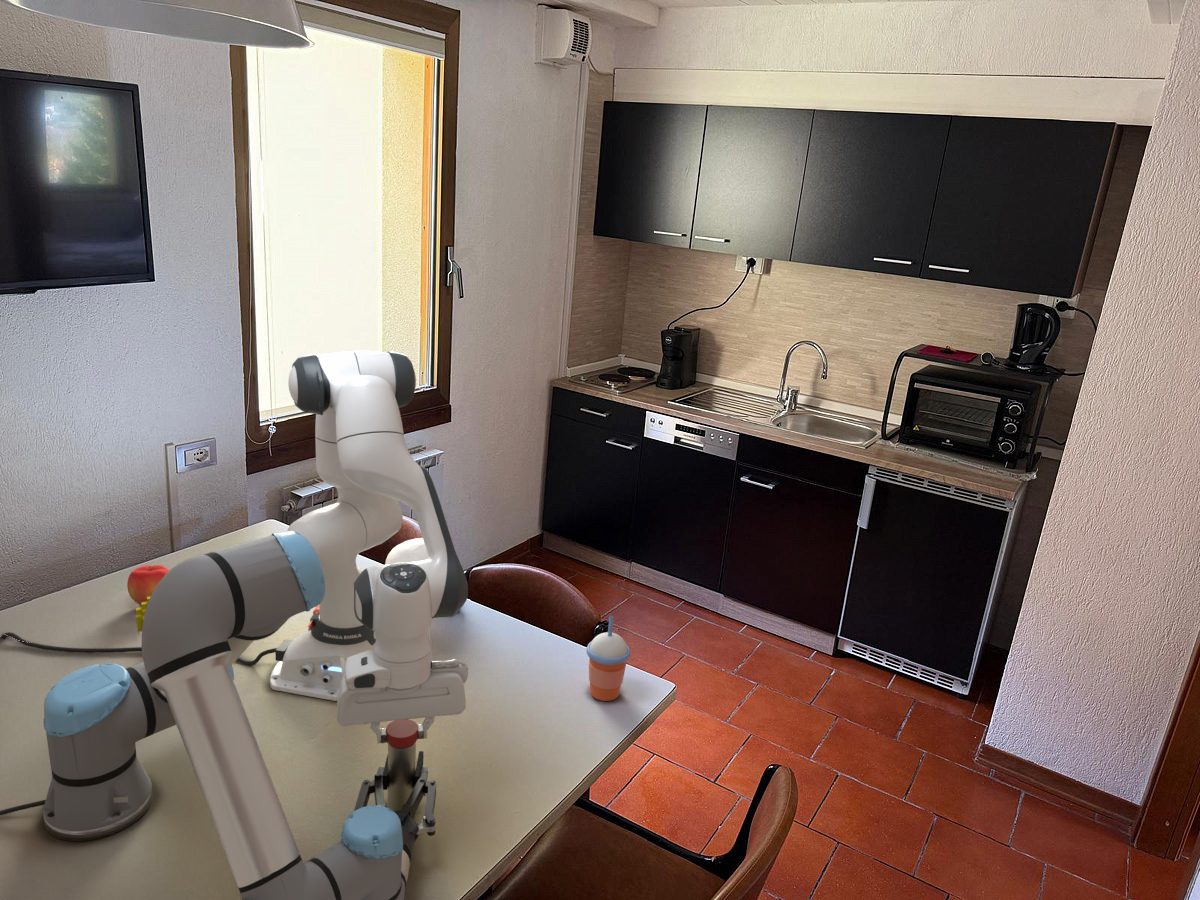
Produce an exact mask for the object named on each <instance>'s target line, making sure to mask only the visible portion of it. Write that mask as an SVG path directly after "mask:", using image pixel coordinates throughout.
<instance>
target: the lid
mask: <svg viewBox="0 0 1200 900" xmlns="http://www.w3.org/2000/svg"><path fill="white" fill-rule="evenodd" d="M418 725H419V724H418V722H416V721H414V719H406V720H396V721H390V722H389V723H388V724H387V725H386V727H385V728H386V733H387V738H386V739H387V743H386V744H387V745H388V744H389V745H391V746H393V747H398V748H404V747H408V746H411V745H412V744H414V743H415V742H416V743H417V741H418V740H419V739H418Z"/></svg>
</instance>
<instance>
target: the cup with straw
mask: <svg viewBox="0 0 1200 900" xmlns="http://www.w3.org/2000/svg"><path fill="white" fill-rule="evenodd" d="M614 619H615V618H614V616H613V615H609V617H608V627H607V631H606V632H602V633H599V634H597V635H596V636H595V637H594V638H593V639H592V640H591V641H590V642H589V643H588V644H587V646H586V654H587V656H588V680H589V692H590V695H591V696H592V697H593V698H594V699H596V700H597V701H602V702H610V701H614V700H615V699H617V698H618V697H619V695H620V691H621V687H622V684H623V681H624V677H625V671H626V666H627V661H628V660H629V659H630V657H631V649H630V647H629V646H628V644H627V643H626V641H625V640H624V638H623V637H622V636H620V635H619V634H618V633H615V632H613V628H614Z"/></svg>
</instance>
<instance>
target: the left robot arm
mask: <svg viewBox="0 0 1200 900" xmlns="http://www.w3.org/2000/svg"><path fill="white" fill-rule="evenodd" d="M324 594H325V580H324V574H323V569H322V566H321V563H320V560H319V558H318V556H317V554H316V552H315V550H314V548H313V547H312V545H311V544H310V542H309V541H308V540H307V539H306V538H305V537H303V536H302V535H301V534H300V533H298V532H295V531H287V530H286V531H283V532H278V533H277V532H273V533H271V535H267V536H264V537H260V538H256V539H253V540H250V541H246V542H243V543H238V544H235V545H232V546H227V547H225V548H221V549H218V550H214V551H209V552H207V553H203V554H198V555H194V556H191V557H189V558H186V559H184V560H182V561H181V562H179V563H177V564H176V565H174V566H173V567H172V568H171V569H169V571H168V572H167V574H166V575H165V576H164V577H163V578H162V579H161V581H160V582H159V583H158V585H157V586H156V588H155V589H154V591H153V593H152V595H151V597H150V600H149V602H148V605H147V608H146V612H145V615H144V621H143V626H142V631H141V645H140V647H142V651H141V654H142V662H140V663H136V664H134V665H131V666H129V667H126V668H125V667H124V666H122V665H120V664H117V663H112V662H111V663H109V662H108V663H107V662H106V663H105V662H104V663H103V664H102V665H100V664H98V663H95V664H92V665H91V664H90V665H88V666H84V667H81V668H79V669H76V670H74V671H72V672H70V673H69V674H66V675H65V676H63V677H62V678H61V679H59V680H58V681H57V682H56V683H55V684H54V685H53V686H52V687H51V688H50V689H49V690H50V691H49V692H47V694H46V696H45V697H44V701H43V729H44V731H45V734H46V741H47V750H48V755H49V763H50V770H51V771H50V772H51V779H50V782H49V787H48V791H47V795H46V797H45V799H42V800H38V801H33V802H28V803H25V804H24V803H23V804H20V805H17V806H13V807H8V808H5V809H1V810H0V816H4V815H8V814H10V813H15V812H19V811H23V810H27V809H32V808H36V807H40V806H43V808H42V816H43V825H44V828H45V830H46V831H47V832H48V833H49V834H50V835H51V836H53V837H54V838H57V839H59V840H63V841H70V842H84V841H91V840H96V839H100V838H103V837H104V838H105V837H107V836H110V835H114V834H115V833H118V832H120V831H122V830H124V829H126V828H127V827H130V826H131V825H133V824H134V823H135V822H137V821H138V820H139V819H140V818H141V817H142V816H143V815H144V814H145V813H146V812H147V810H148V809H149V808H150V806H151V804H152V802H153V798H154V792H153V791H154V789H153V783H152V779H151V777H150V776H149V774H148V773H147V772H146V769H145V767H144V766H143V764H142V762H141V760H140V759H139V757H138V755H137V747H136V746H137V745H136V743H137V742H138V741H141V740H144V739H146V738H148V737H151V736H154V735H155V734H158V733H160V732H163V731H165V730H167V729H170V728H172V727H175V726H176V728H177V730H178V732H179V735H180V738H181V741H182V743H183V746H184V748H185V751H186V753H187V756H188V759H189V761H190V764H191V767H192V769H193V772H194V775H195V777H196V781H197V782H198V785H199V787H200V790H201V793H202V795H203V798H204V801H205V804H206V807H207V810H208V812H209V815H210V817H211V819H212V822H213V825H214V827H215V830H216V833H217V835H218V839H219V840H220V843H221V846H222V848H223V851H224V854H225V856H226V859H227V861H228V864H229V867H230V870H231V872H232V875H233V877H234V880H235V883H236V886H237V888H238V891H239V894H240V898H241V900H405V894H406V891H407V883H408V878H409V873H410V867H411V862H412V856H413V850H414V844H415V843H416V840H417V839H418V838H419V835H422V834H426V835H427V836H429V837H433V836H435V835H436V817H435V815H434V814H435V807H436V799H437V798H436V797H437V781H436V780H434V779H433V780H429V781H428V776H429V769H428V767H427V766H424V752H425V751H423V750H419V751H418V755H417V759H416V764H415V776H414V789H413V790H412V792H411V794H410V796H409V798H408V800H407V802H406V804H404V805H403V807H402V809H401V810H399V811H392V810H391V809H389V808H388V806H387V807H386V804H385V802H386V801H385V795H384V794H385V793H384V791H388V754H387V755H386V760H385V763H384V766H379V767H378V768H377V771H376V773H375V774H374V775H373V776H374V778H373V780H371V781H370V779H365V780H363V781H362V783H361V786H360V789H359V793H358V796H357V800H356V802H355V806H354V810H353V812H351V813H350V814H349V815H348V816H347V818H346V820H345V821H344V823H343V825H342V831H341V834H340V837H341V839H340V841H337V842H336V843H335V844H333V845H332V846H329V847H328V848H326V849H325V850H323V851H321V852H319V854H317V855H315V856H314V857H312V858H310V859H309V860H307V861H305V862H304V861H303V858H302V856H301V853H300V850H299V848H298V847H299V846H298V845H297V842H296V839H295V837H294V835H293V831H292V830H291V826H290V823H289V821H288V819H287V816H286V814H285V811H284V808H283V806H282V803H281V801H280V798H279V795H278V793H277V791H276V788H275V785H274V783H273V781H272V778H271V775H270V773H269V770H268V767H267V765H266V761H265V760H264V757H263V753H262V751H261V749H260V746H259V744H258V741H257V738H256V736H255V733H254V731H253V728H252V725H251V722H250V720H249V718H248V715H247V712H246V709H245V707H244V704H243V702H242V699H241V696H240V695H239V694H240V693H239V691H238V689H237V686H236V683H235V682H234V681H235V675H234V667H233V665H234V663H235V662H236V660H237V659H238V658H241V656H242V655H243V654H244V653H245V651H247V649H248V648H249V647H250V646H251V645H252V643H254V642H256V641H260V640H264V639H266V638H268V637H270V636H273V635H274V634H275V633H276V632H278V631H279V630H280V629H281V628H282V627H283V626H284V625H285V623H286V622H288V620H289V619H291V618H292V617H294V616H295V615H299V614H302V613H304V612H307V613H308V612H310V611H311V610H312V609H315V608H316V607H317V606H319V604H320V603H321V602H322V600H323V598H324ZM371 794H374V802H375V805H368V804H369V800H370V797H371ZM424 797H426V800H425V807H424V816H422V819H421V820H420V823H419V824H418V823H417V822H415V820H414V819H413V817H414V816H415V814H416V812H417V810H418V808H419V806H420V804H421V802H422V801H423V799H424Z"/></svg>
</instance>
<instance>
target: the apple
mask: <svg viewBox="0 0 1200 900" xmlns="http://www.w3.org/2000/svg"><path fill="white" fill-rule="evenodd" d="M169 570H170V569H169V568H168V567H166V566H165V565H162V564H146V565H140V566H139V567H137V568H135V569H133V570H132V571H131V572H130V574H129V575H128V577H127V584H126V588H127V593H128V596H129V597H130V598H131V599H132V601H134V602H135V603H136V604H138V605H139V606H140V607H142V602H147V597H149V596H151V595H152V593H153V591H154V589H155V588H156V586H157V585H158V583H159V582H160V581H161V579H162V578H163V577H164V576H165V575H166V574H167V572H168V571H169Z"/></svg>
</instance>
